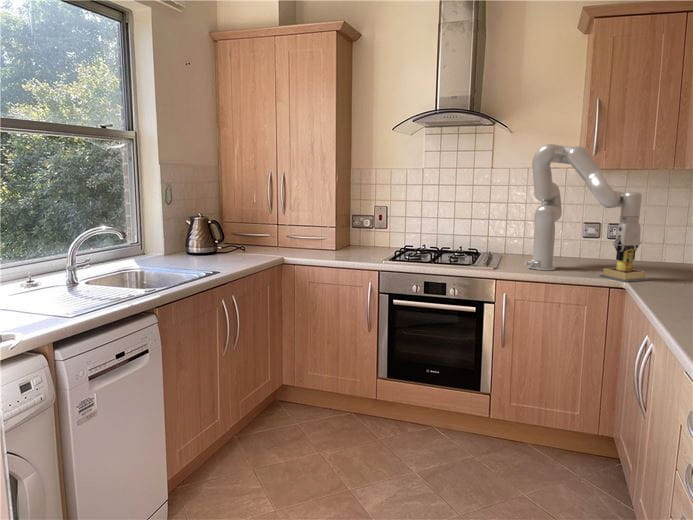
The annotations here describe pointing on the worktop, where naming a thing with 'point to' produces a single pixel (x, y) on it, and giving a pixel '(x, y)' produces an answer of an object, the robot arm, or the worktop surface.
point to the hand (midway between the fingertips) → (625, 259)
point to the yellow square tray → (624, 275)
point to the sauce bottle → (626, 260)
